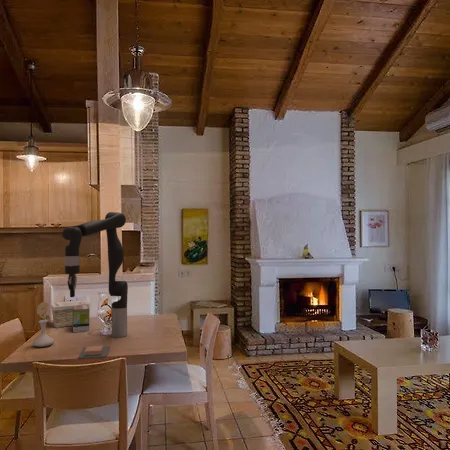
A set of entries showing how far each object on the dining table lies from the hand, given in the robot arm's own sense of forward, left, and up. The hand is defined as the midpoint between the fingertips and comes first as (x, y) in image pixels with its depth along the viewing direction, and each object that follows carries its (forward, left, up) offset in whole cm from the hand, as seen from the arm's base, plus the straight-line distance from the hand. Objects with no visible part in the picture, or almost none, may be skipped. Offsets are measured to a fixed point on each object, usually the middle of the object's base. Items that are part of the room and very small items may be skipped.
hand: (72, 296), depth 221 cm
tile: (+4, +12, -27) cm, 30 cm away
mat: (+5, +12, -29) cm, 32 cm away
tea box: (-49, -4, -29) cm, 57 cm away
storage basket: (-66, -14, -29) cm, 73 cm away
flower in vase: (-14, -18, -29) cm, 37 cm away
